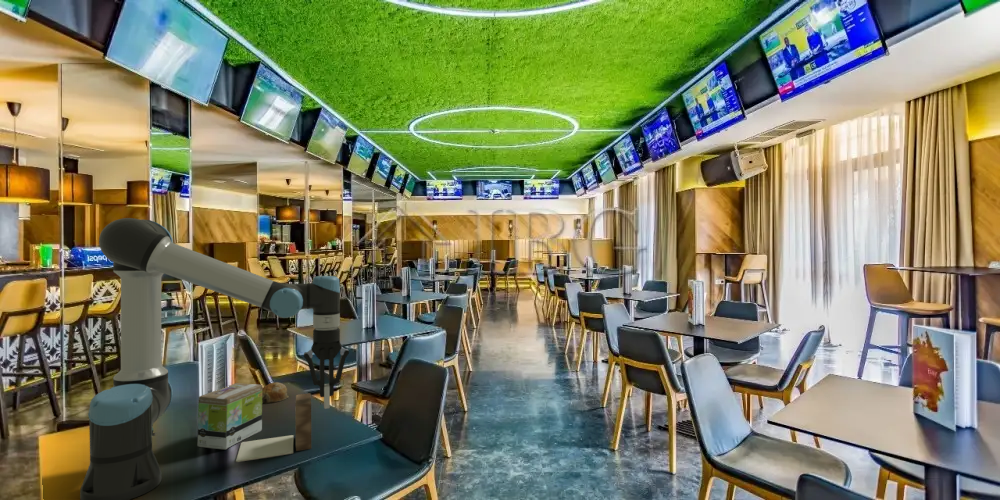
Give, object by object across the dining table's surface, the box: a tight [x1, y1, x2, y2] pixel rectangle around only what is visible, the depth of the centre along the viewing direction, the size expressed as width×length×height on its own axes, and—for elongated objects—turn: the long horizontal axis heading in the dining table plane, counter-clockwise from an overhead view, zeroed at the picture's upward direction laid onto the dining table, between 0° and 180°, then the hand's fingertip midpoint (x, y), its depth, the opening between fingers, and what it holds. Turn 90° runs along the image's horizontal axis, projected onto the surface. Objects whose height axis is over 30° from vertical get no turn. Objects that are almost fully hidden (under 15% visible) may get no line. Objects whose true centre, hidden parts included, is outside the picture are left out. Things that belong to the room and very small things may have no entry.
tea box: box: [197, 382, 263, 450], centre depth 144 cm, size 15×10×15 cm, turn 168°
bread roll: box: [262, 381, 289, 404], centre depth 181 cm, size 10×10×8 cm
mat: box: [235, 434, 295, 463], centre depth 137 cm, size 14×13×1 cm
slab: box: [294, 392, 312, 452], centre depth 141 cm, size 4×10×13 cm, turn 22°
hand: (326, 407), depth 143 cm, fingers closed
